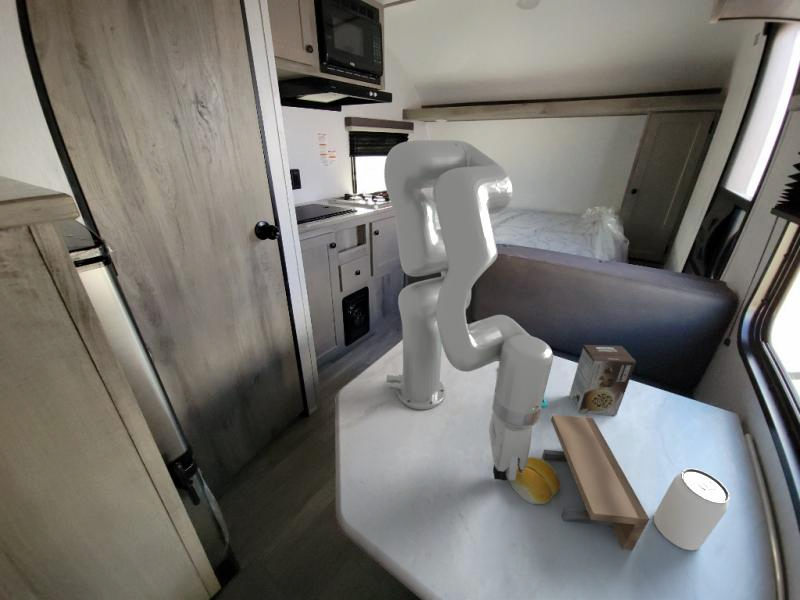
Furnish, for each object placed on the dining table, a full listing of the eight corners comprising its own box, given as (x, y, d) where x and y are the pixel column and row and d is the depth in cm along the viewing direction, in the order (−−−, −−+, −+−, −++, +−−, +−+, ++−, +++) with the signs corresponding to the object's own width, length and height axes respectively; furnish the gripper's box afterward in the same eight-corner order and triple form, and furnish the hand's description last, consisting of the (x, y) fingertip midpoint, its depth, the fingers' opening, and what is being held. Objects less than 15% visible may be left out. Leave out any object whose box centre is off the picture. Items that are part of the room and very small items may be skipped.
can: (643, 512, 57) (667, 467, 52) (677, 509, 58) (704, 464, 52) (674, 554, 51) (705, 508, 46) (711, 549, 52) (746, 504, 46)
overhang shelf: (570, 543, 53) (583, 512, 49) (537, 442, 71) (544, 414, 67) (632, 550, 52) (649, 519, 48) (582, 446, 70) (592, 417, 66)
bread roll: (565, 485, 62) (569, 472, 60) (539, 514, 57) (543, 500, 55) (527, 455, 68) (530, 442, 66) (500, 479, 63) (503, 466, 61)
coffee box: (604, 397, 83) (622, 345, 76) (617, 416, 77) (638, 361, 70) (567, 395, 84) (582, 343, 77) (577, 413, 78) (594, 359, 71)
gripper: (488, 374, 61) (478, 442, 69) (500, 439, 48) (486, 513, 56) (528, 377, 60) (514, 445, 68) (552, 444, 47) (531, 518, 55)
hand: (501, 476), depth 62 cm, fingers closed
